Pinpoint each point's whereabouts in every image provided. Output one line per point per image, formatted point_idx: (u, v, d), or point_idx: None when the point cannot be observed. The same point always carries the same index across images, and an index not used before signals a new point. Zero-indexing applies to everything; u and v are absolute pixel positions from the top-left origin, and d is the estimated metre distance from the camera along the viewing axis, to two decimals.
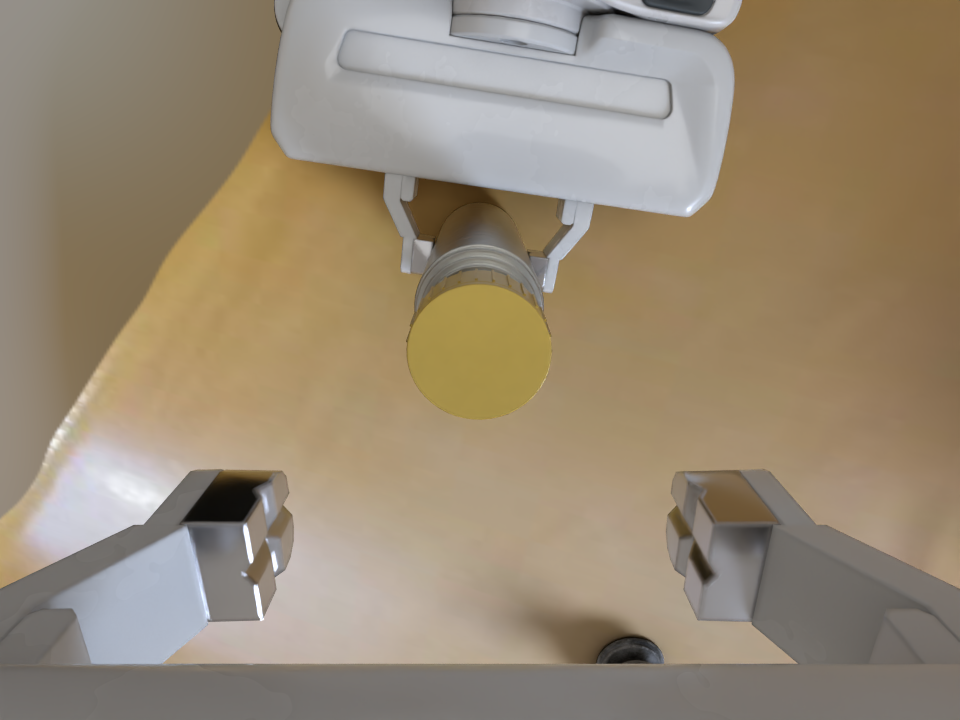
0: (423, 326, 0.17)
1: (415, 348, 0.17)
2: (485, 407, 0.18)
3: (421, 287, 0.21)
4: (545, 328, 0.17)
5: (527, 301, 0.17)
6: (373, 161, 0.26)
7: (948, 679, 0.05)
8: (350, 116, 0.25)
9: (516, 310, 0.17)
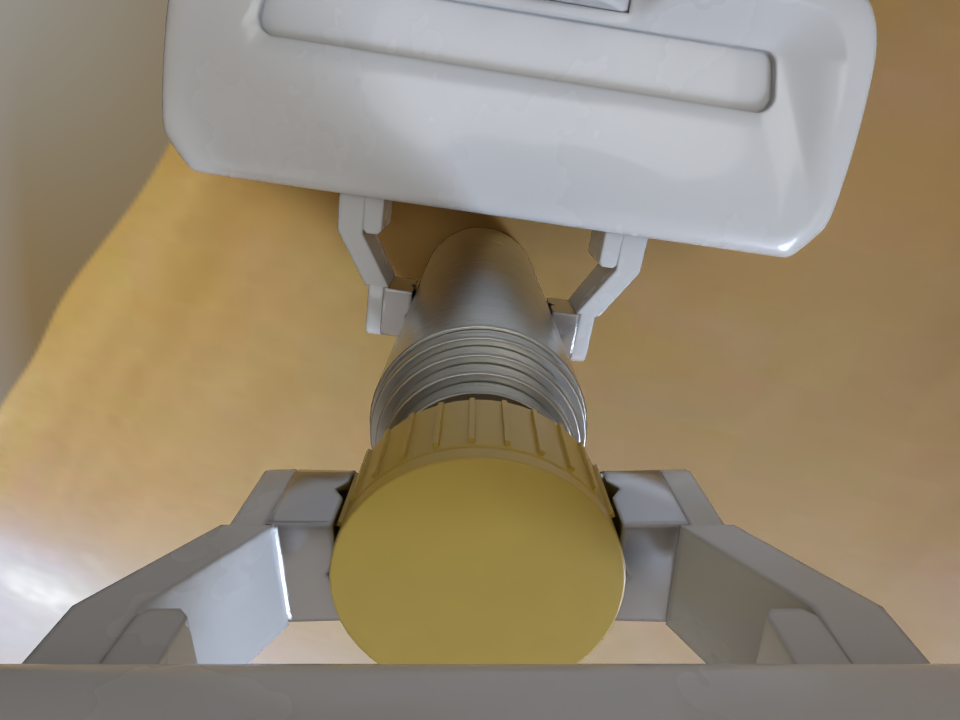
0: (361, 536, 0.08)
1: (346, 576, 0.08)
2: None
3: (378, 399, 0.12)
4: (615, 540, 0.08)
5: (579, 489, 0.08)
6: (319, 176, 0.17)
7: (948, 679, 0.05)
8: (282, 109, 0.17)
9: (556, 507, 0.08)
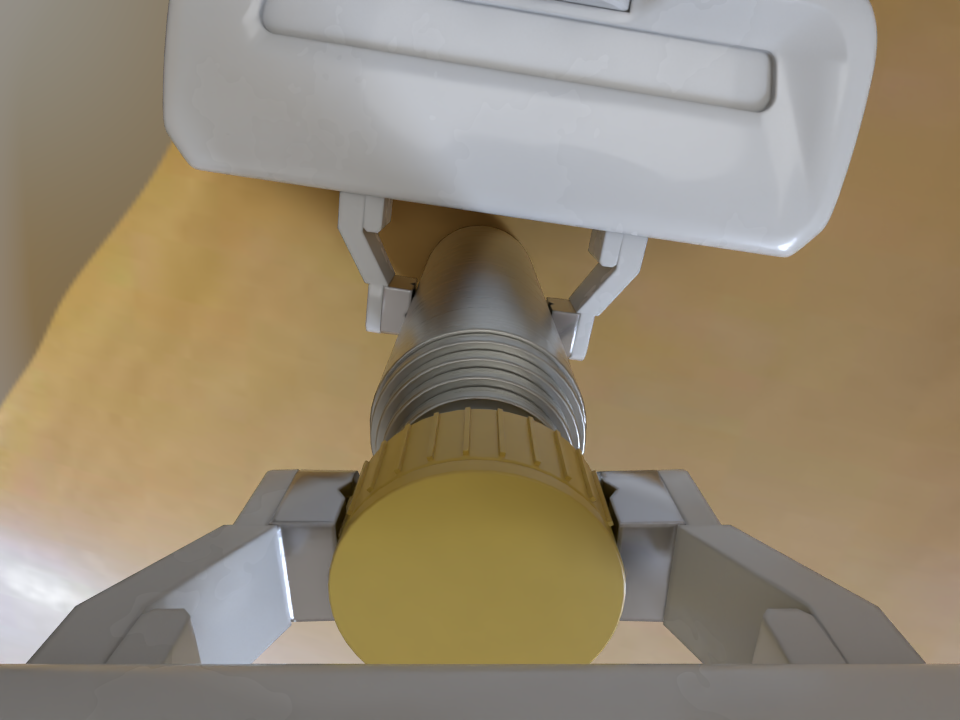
0: None
1: None
2: (596, 602, 0.08)
3: (379, 402, 0.12)
4: (435, 478, 0.08)
5: (372, 503, 0.08)
6: (320, 174, 0.17)
7: (948, 679, 0.05)
8: (283, 106, 0.16)
9: (388, 526, 0.08)
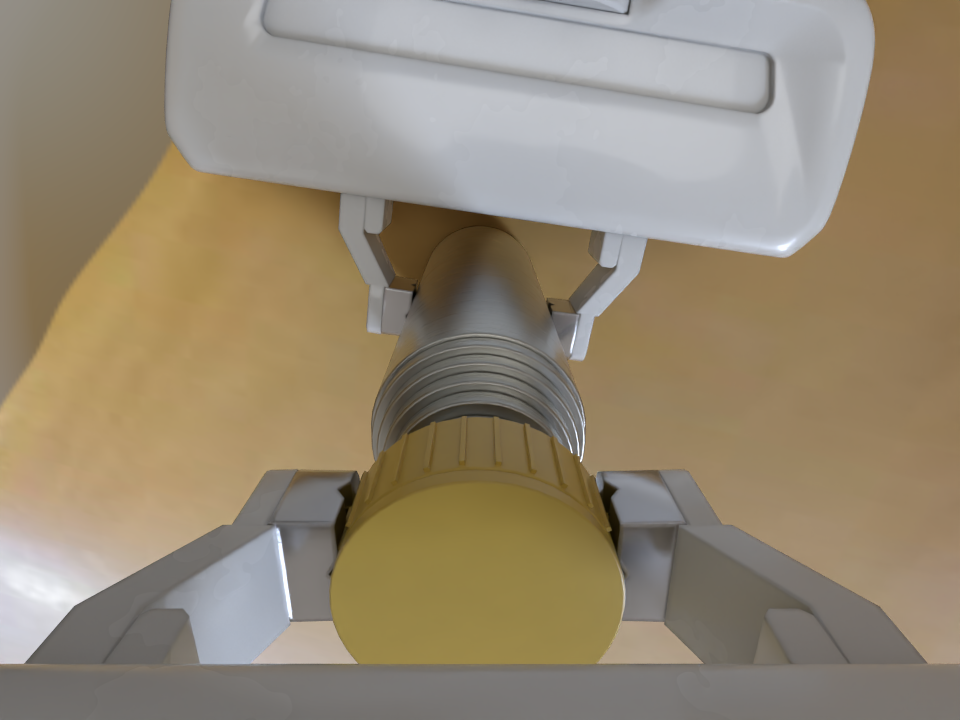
0: None
1: (593, 645, 0.09)
2: (499, 510, 0.08)
3: (380, 405, 0.12)
4: (335, 618, 0.08)
5: (360, 662, 0.09)
6: (321, 176, 0.17)
7: (948, 679, 0.05)
8: (284, 109, 0.17)
9: (383, 658, 0.09)
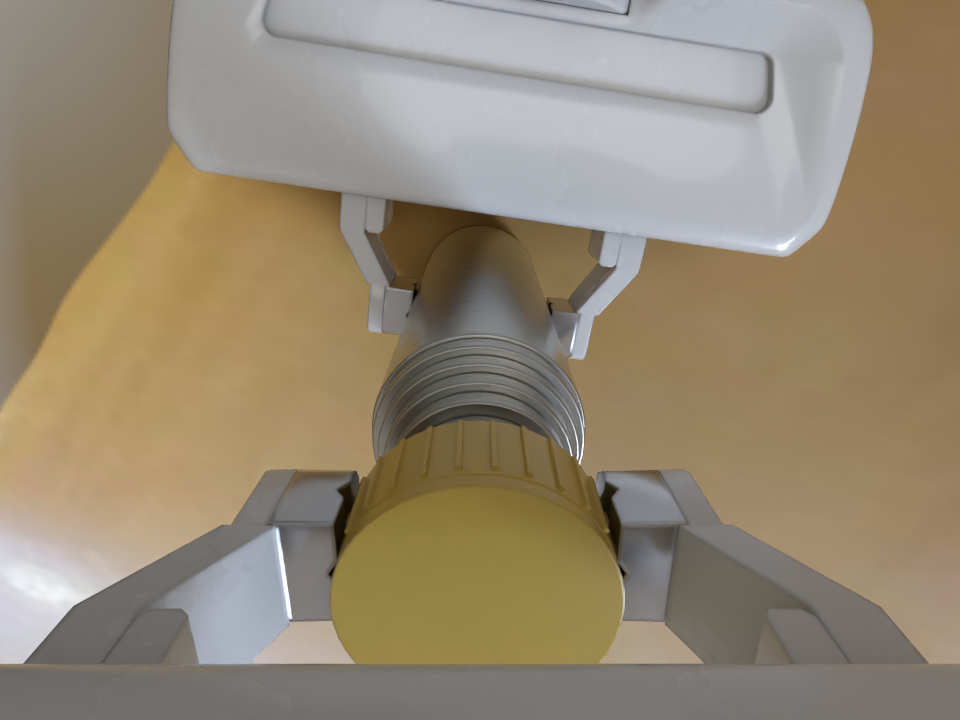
0: (584, 550, 0.08)
1: (550, 520, 0.08)
2: (361, 581, 0.08)
3: (381, 405, 0.12)
4: None
5: None
6: (322, 176, 0.17)
7: (948, 679, 0.05)
8: (285, 108, 0.17)
9: None
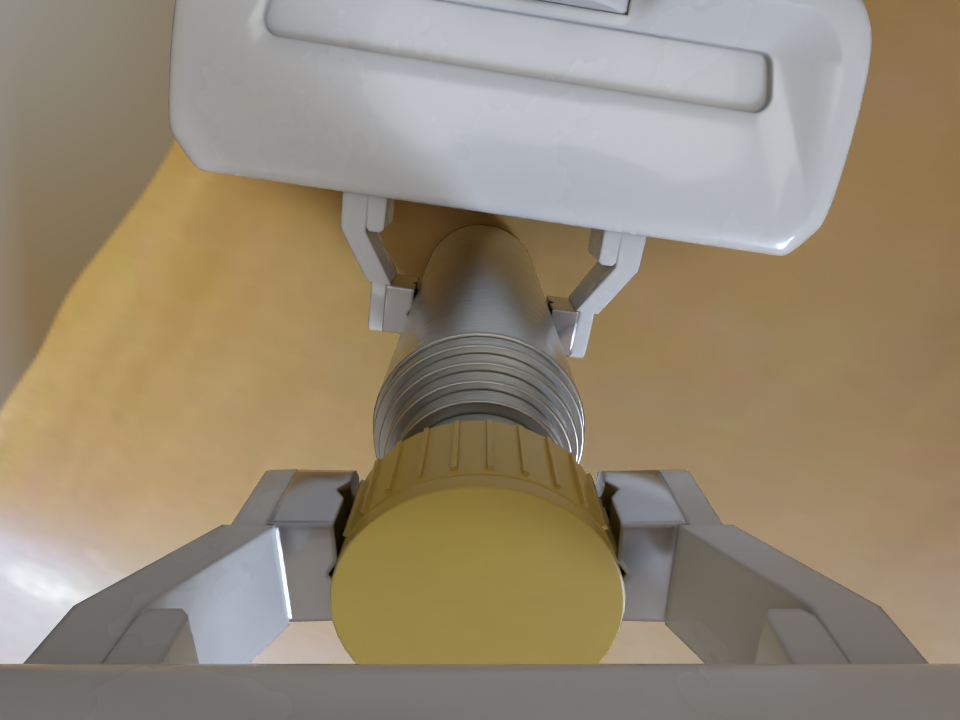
0: (413, 518, 0.08)
1: (371, 543, 0.08)
2: None
3: (382, 403, 0.12)
4: (616, 630, 0.09)
5: (621, 577, 0.08)
6: (323, 175, 0.17)
7: (948, 679, 0.05)
8: (287, 108, 0.17)
9: (593, 581, 0.08)
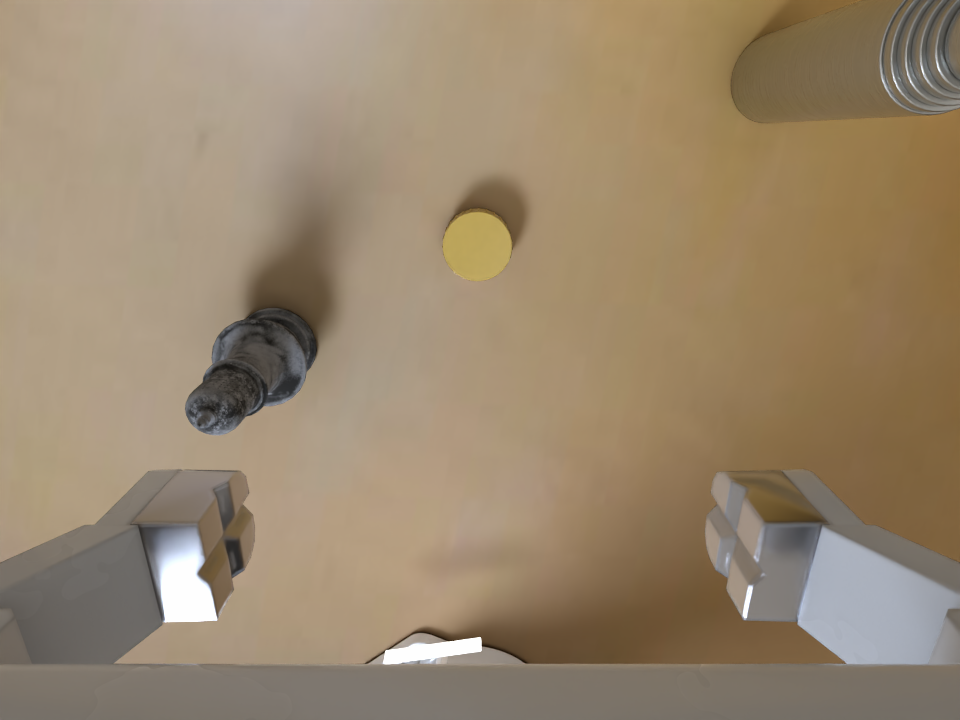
0: (449, 257, 0.36)
1: (455, 267, 0.36)
2: (500, 262, 0.36)
3: None
4: (487, 214, 0.35)
5: (472, 212, 0.35)
6: None
7: (948, 679, 0.05)
8: None
9: (471, 219, 0.35)
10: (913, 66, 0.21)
